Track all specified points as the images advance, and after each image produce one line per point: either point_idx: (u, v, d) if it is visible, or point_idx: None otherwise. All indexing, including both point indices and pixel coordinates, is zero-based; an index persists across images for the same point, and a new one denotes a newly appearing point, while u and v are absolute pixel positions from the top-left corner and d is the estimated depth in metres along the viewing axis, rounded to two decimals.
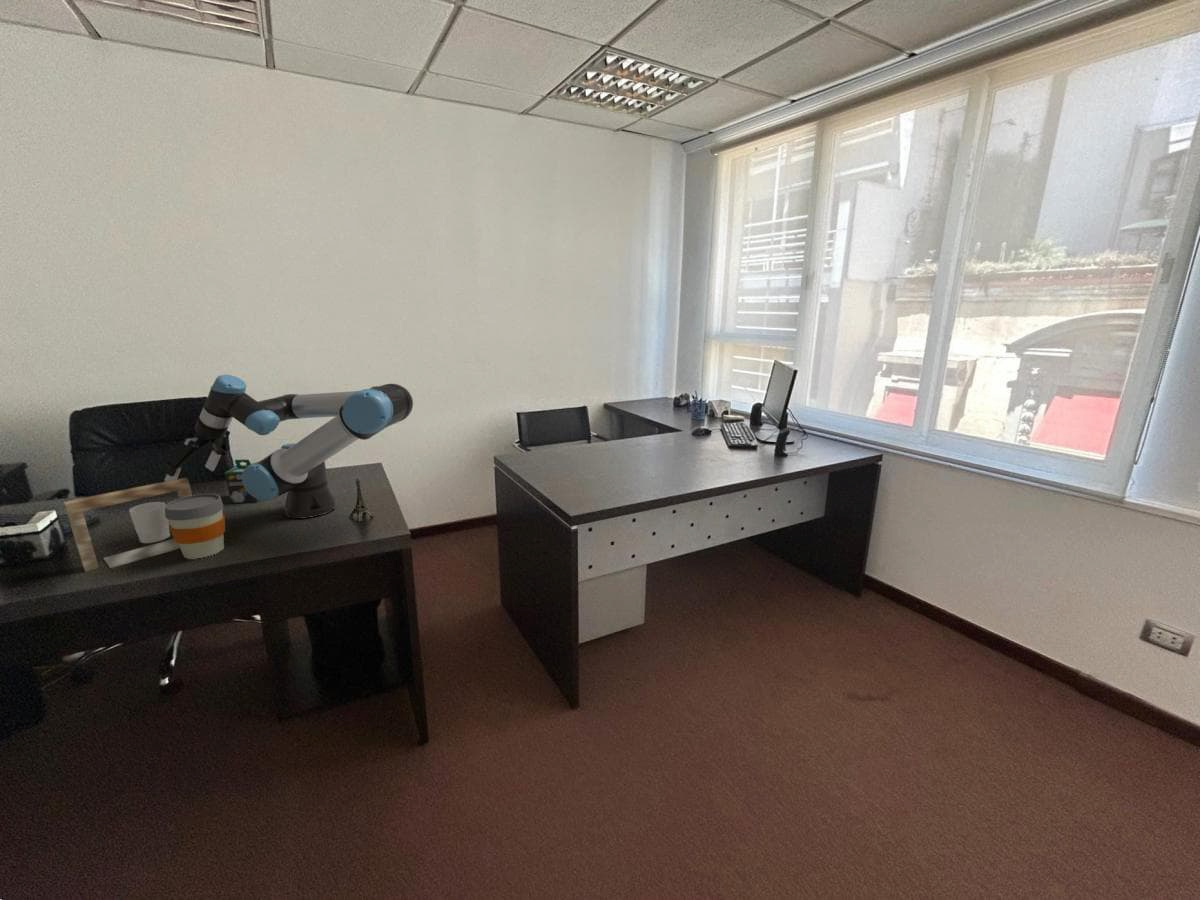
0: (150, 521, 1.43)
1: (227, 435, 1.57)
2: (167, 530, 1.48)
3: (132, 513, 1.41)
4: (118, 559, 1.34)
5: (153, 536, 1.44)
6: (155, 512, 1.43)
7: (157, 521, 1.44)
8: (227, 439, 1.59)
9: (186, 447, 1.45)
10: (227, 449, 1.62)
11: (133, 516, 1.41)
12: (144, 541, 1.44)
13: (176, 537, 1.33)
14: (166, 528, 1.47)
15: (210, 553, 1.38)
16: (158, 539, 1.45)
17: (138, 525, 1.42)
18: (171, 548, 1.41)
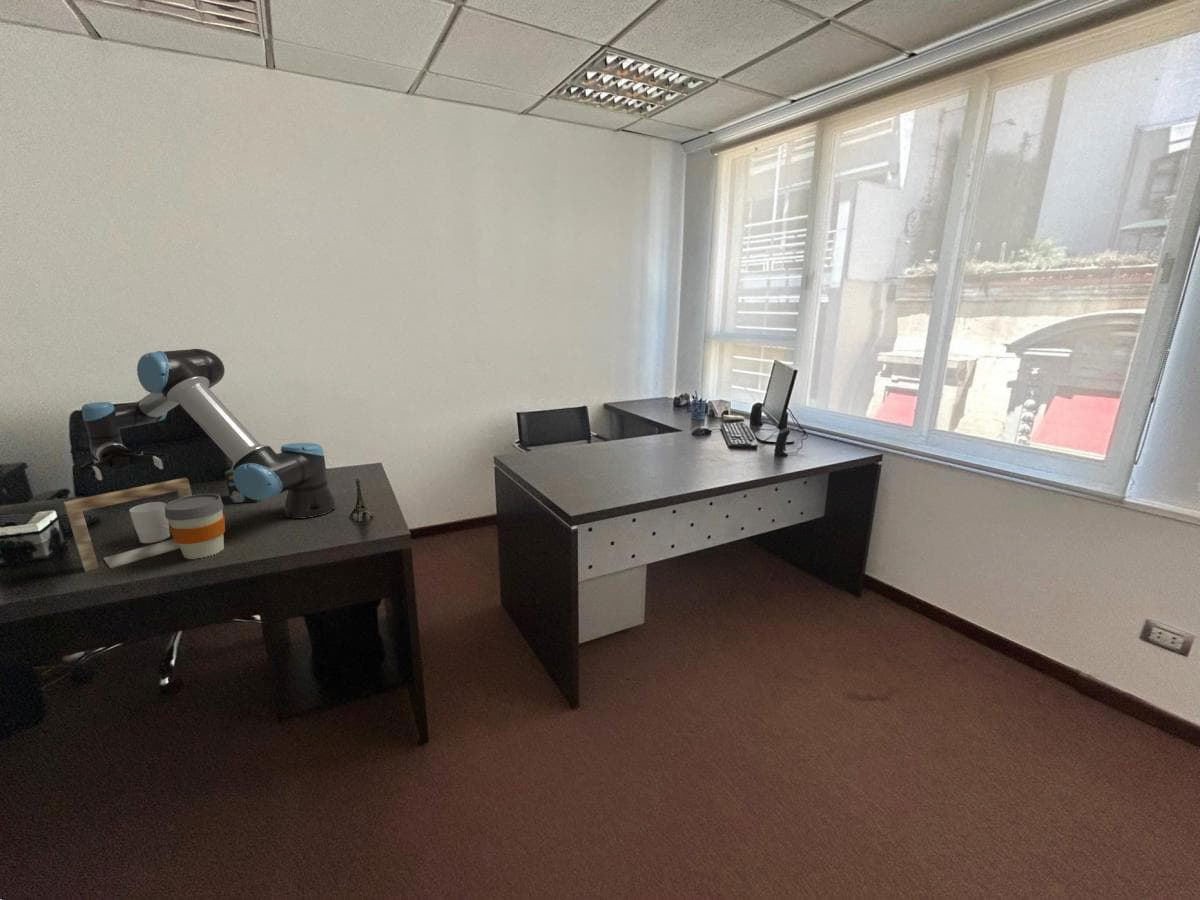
0: (150, 521, 1.43)
1: (144, 452, 1.61)
2: (167, 530, 1.48)
3: (132, 513, 1.41)
4: (118, 559, 1.34)
5: (153, 536, 1.44)
6: (155, 512, 1.43)
7: (157, 521, 1.44)
8: (149, 452, 1.60)
9: None
10: (161, 454, 1.59)
11: (133, 516, 1.41)
12: (144, 541, 1.44)
13: (176, 537, 1.33)
14: (166, 528, 1.47)
15: (210, 553, 1.38)
16: (158, 539, 1.45)
17: (138, 525, 1.42)
18: (171, 548, 1.41)
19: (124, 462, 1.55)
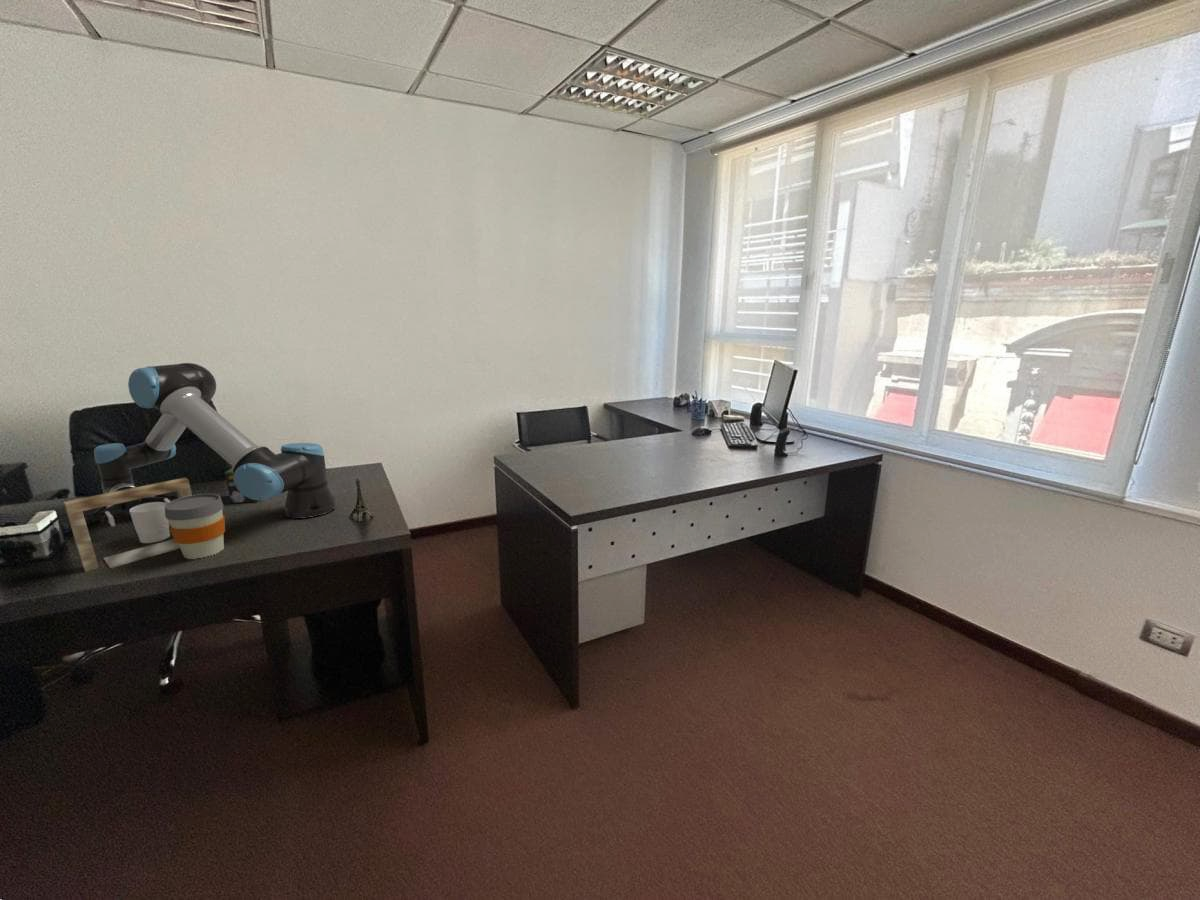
0: (150, 521, 1.43)
1: None
2: (167, 530, 1.48)
3: (132, 513, 1.41)
4: (118, 559, 1.34)
5: (153, 536, 1.44)
6: (155, 512, 1.43)
7: (157, 521, 1.44)
8: (160, 494, 1.62)
9: None
10: (172, 495, 1.61)
11: (133, 516, 1.41)
12: (144, 541, 1.44)
13: (176, 537, 1.33)
14: (166, 528, 1.47)
15: (210, 553, 1.38)
16: (158, 539, 1.45)
17: (138, 525, 1.42)
18: (171, 548, 1.41)
19: (136, 505, 1.57)
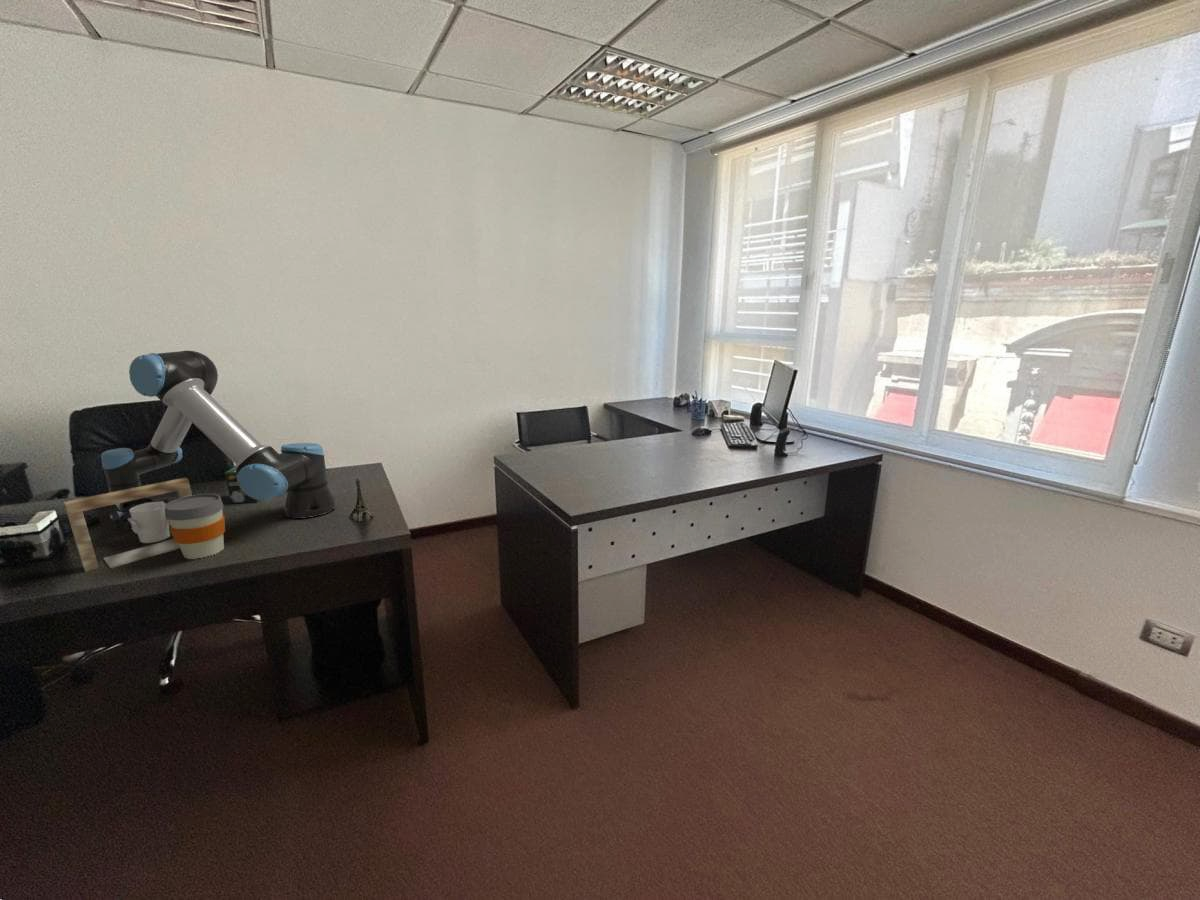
0: (150, 521, 1.43)
1: (165, 501, 1.56)
2: (167, 530, 1.48)
3: (132, 513, 1.41)
4: (118, 559, 1.34)
5: (153, 536, 1.44)
6: (155, 512, 1.43)
7: (157, 521, 1.44)
8: (167, 502, 1.55)
9: None
10: None
11: (133, 516, 1.41)
12: (144, 541, 1.44)
13: (176, 537, 1.33)
14: (166, 528, 1.47)
15: (210, 553, 1.38)
16: (158, 539, 1.45)
17: (138, 525, 1.42)
18: (171, 548, 1.41)
19: None
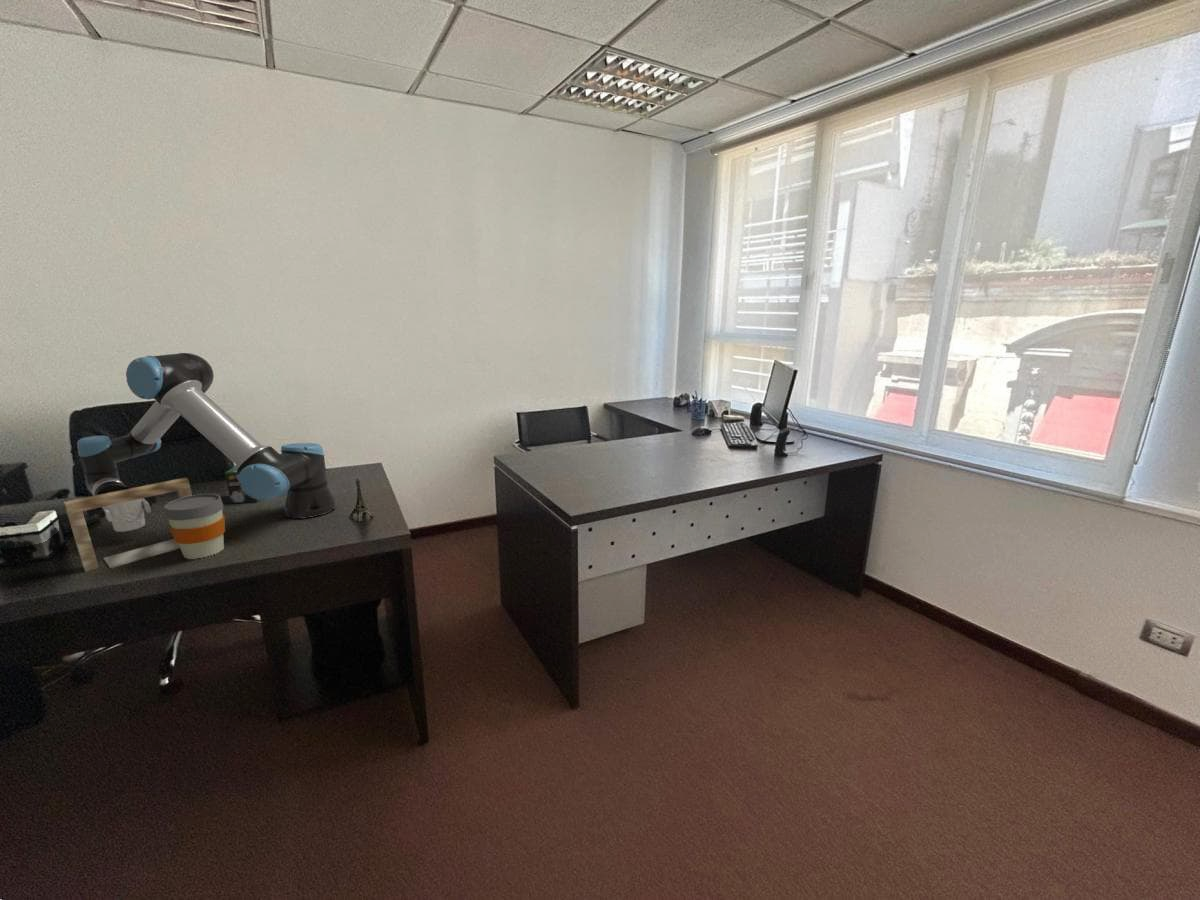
0: (124, 509, 1.41)
1: None
2: (142, 519, 1.46)
3: None
4: (118, 559, 1.34)
5: (127, 525, 1.42)
6: None
7: (131, 509, 1.42)
8: None
9: None
10: None
11: None
12: (118, 529, 1.42)
13: (176, 537, 1.33)
14: (141, 517, 1.45)
15: (210, 553, 1.38)
16: (132, 527, 1.43)
17: (111, 513, 1.40)
18: (171, 548, 1.41)
19: None
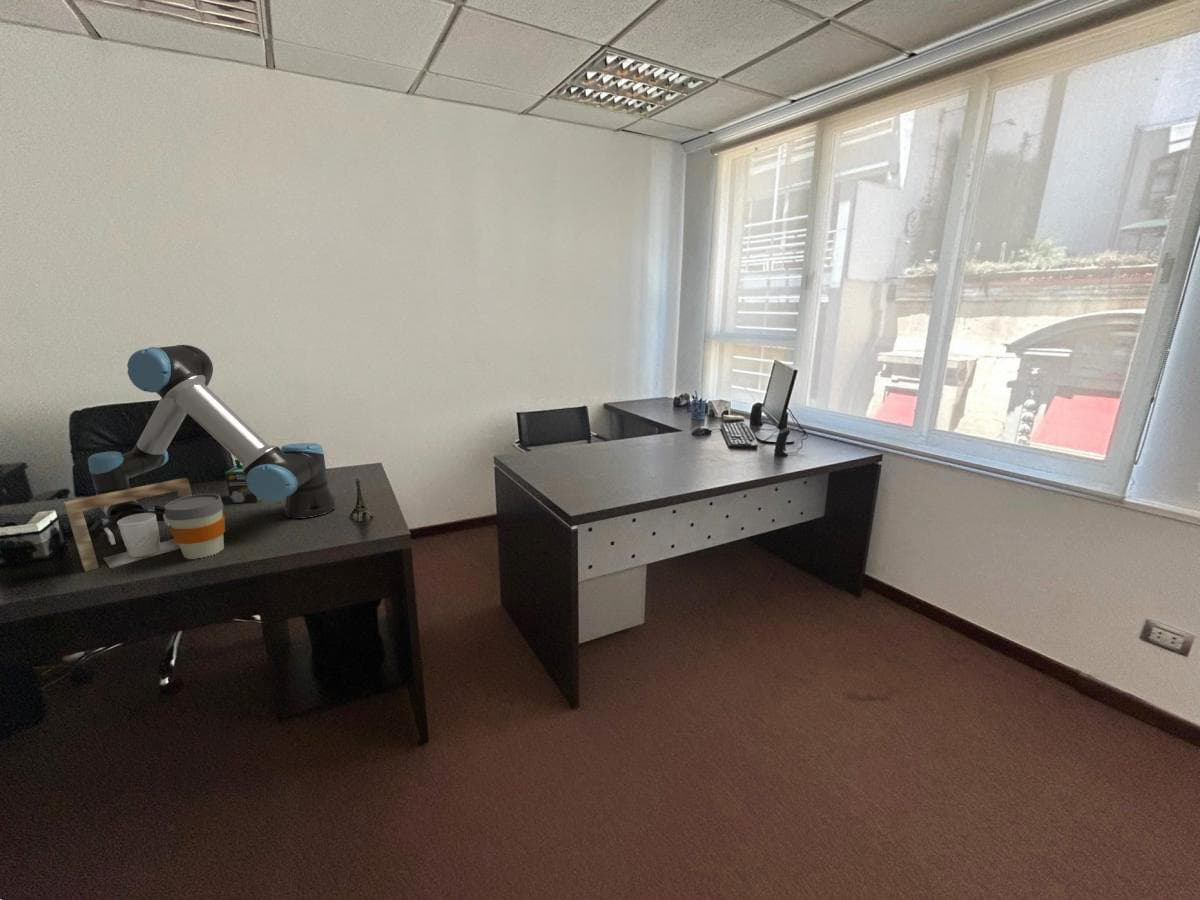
0: (139, 534, 1.34)
1: (156, 506, 1.48)
2: (158, 543, 1.39)
3: (120, 525, 1.33)
4: (118, 559, 1.34)
5: (142, 550, 1.36)
6: (145, 524, 1.35)
7: (147, 534, 1.35)
8: (161, 507, 1.47)
9: None
10: None
11: (121, 528, 1.33)
12: (133, 555, 1.35)
13: (176, 537, 1.33)
14: (157, 541, 1.38)
15: (210, 553, 1.38)
16: (148, 553, 1.37)
17: (126, 538, 1.34)
18: (171, 548, 1.41)
19: None
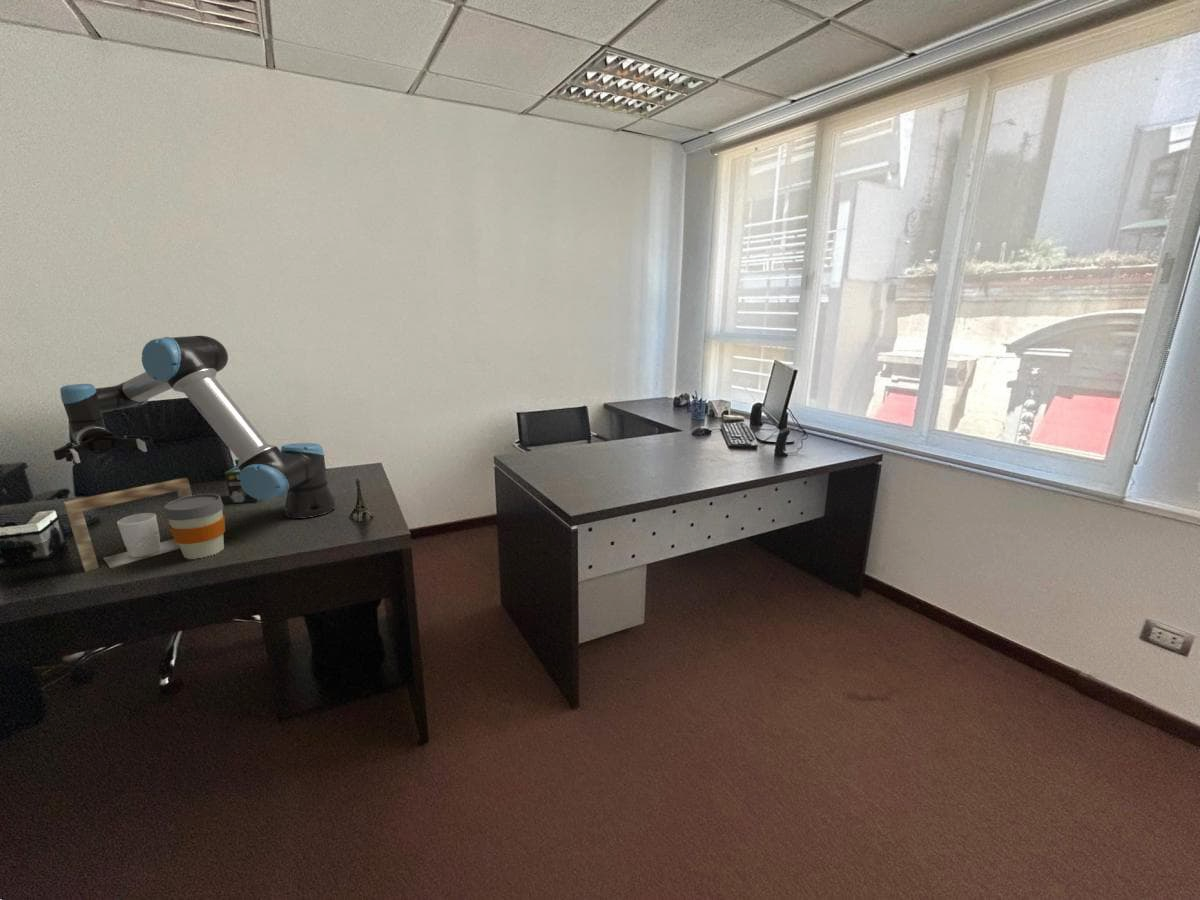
0: (139, 534, 1.34)
1: (128, 435, 1.50)
2: (158, 543, 1.39)
3: (120, 525, 1.33)
4: (118, 559, 1.34)
5: (142, 550, 1.36)
6: (145, 524, 1.35)
7: (147, 533, 1.35)
8: (133, 436, 1.50)
9: None
10: (146, 437, 1.49)
11: (121, 528, 1.33)
12: (133, 555, 1.35)
13: (176, 537, 1.33)
14: (157, 541, 1.38)
15: (210, 553, 1.38)
16: (148, 552, 1.37)
17: (126, 538, 1.34)
18: (171, 548, 1.41)
19: (106, 446, 1.45)
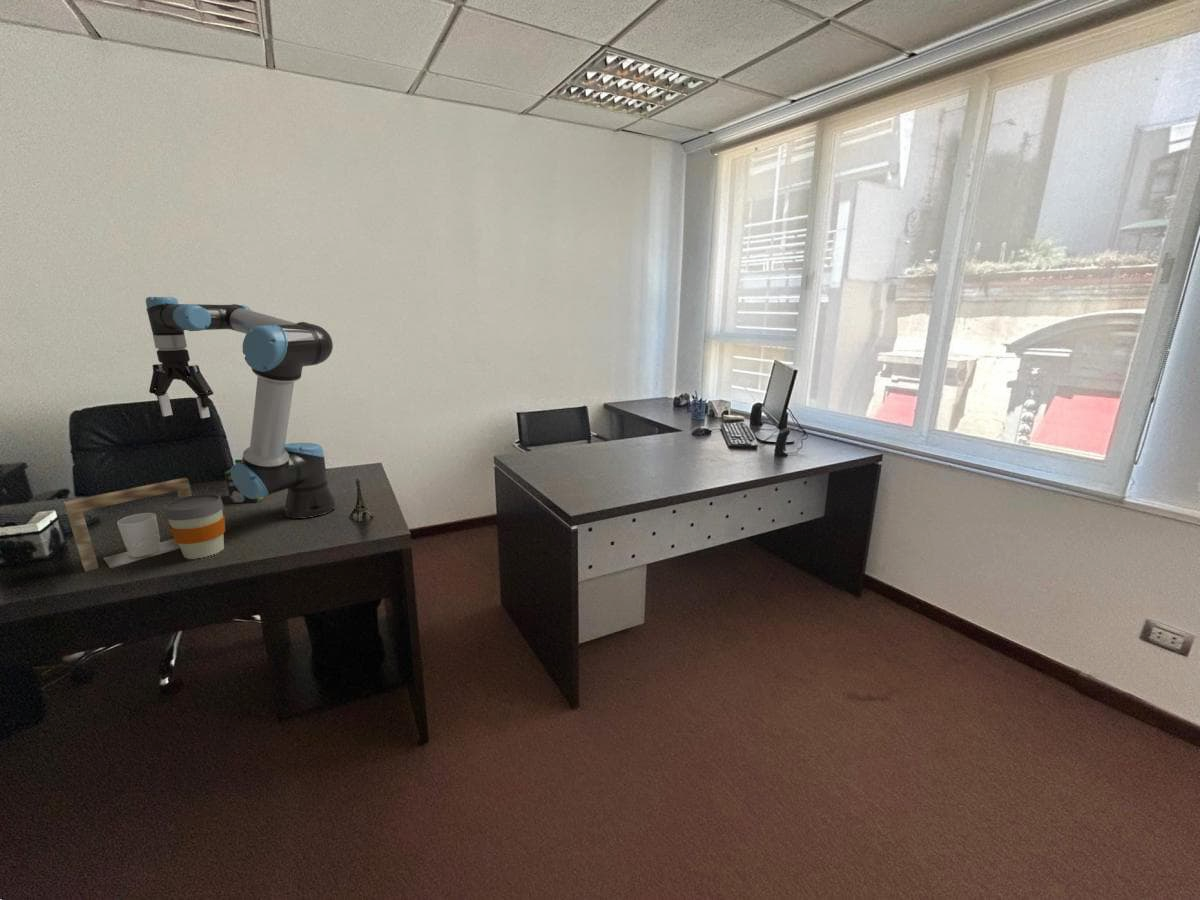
0: (139, 534, 1.34)
1: (190, 370, 1.54)
2: (158, 543, 1.39)
3: (120, 525, 1.33)
4: (118, 559, 1.34)
5: (142, 550, 1.36)
6: (145, 524, 1.35)
7: (147, 533, 1.35)
8: (194, 377, 1.54)
9: None
10: (203, 392, 1.56)
11: (121, 528, 1.33)
12: (133, 555, 1.35)
13: (176, 537, 1.33)
14: (157, 541, 1.38)
15: (210, 553, 1.38)
16: (148, 552, 1.37)
17: (126, 538, 1.34)
18: (171, 548, 1.41)
19: None
